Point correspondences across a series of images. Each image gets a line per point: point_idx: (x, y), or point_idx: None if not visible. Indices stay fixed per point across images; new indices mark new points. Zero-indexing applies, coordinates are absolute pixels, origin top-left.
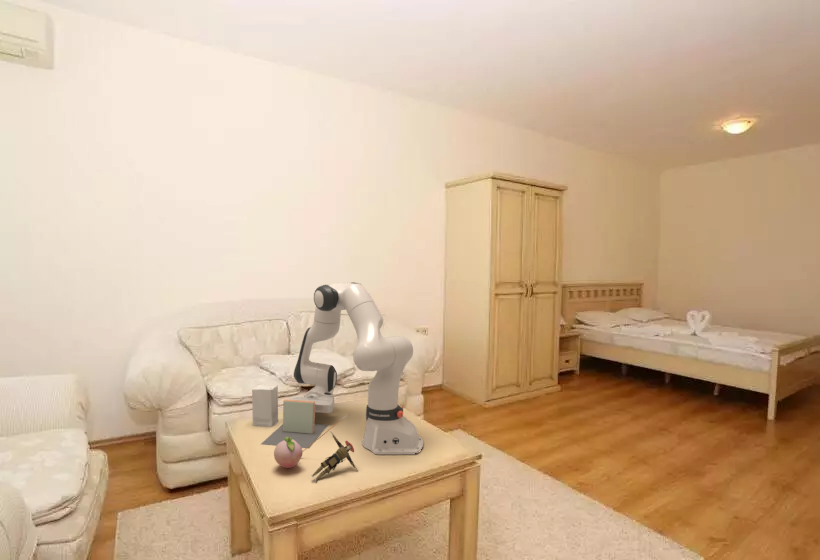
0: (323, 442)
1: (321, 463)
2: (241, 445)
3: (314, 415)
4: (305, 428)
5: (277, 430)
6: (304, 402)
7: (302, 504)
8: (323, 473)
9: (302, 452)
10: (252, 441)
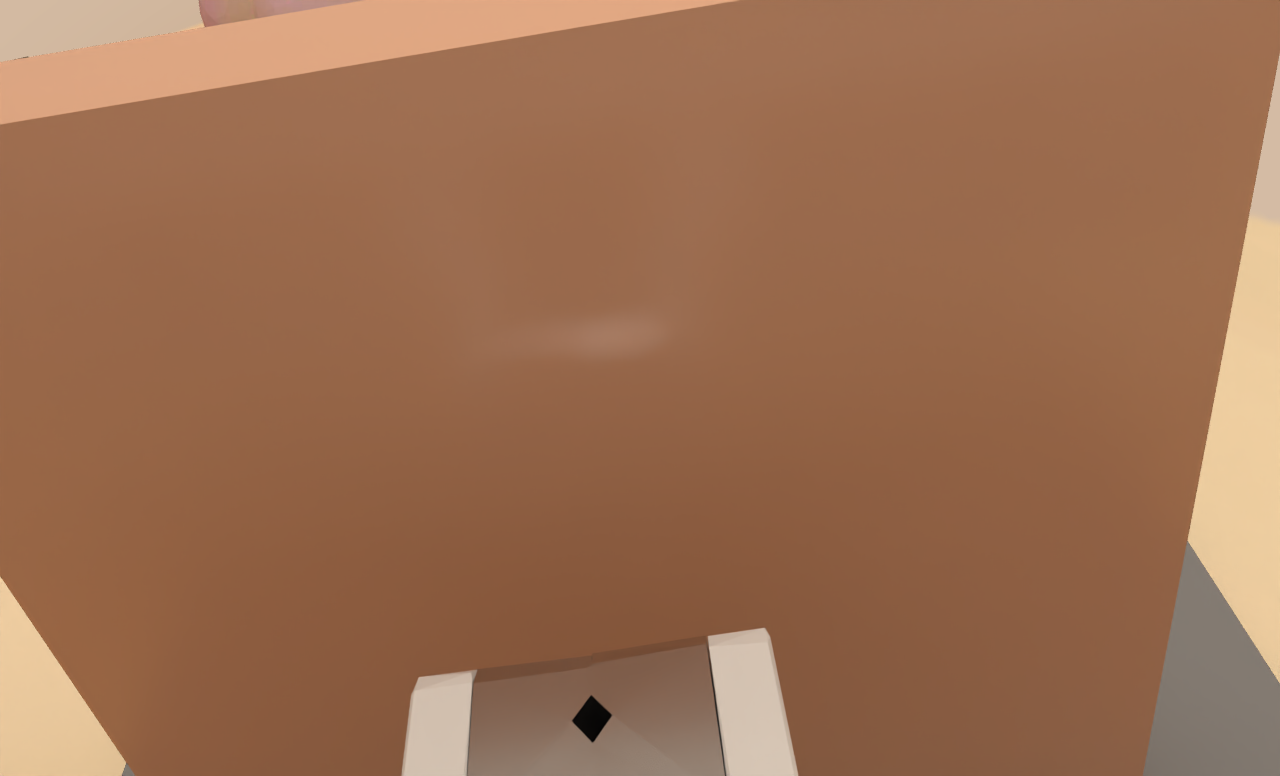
0: (39, 655)
1: (25, 57)
2: (1273, 228)
3: (54, 606)
4: None
5: (1263, 737)
6: (244, 42)
7: (188, 29)
8: None
9: (205, 26)
10: (1263, 330)
